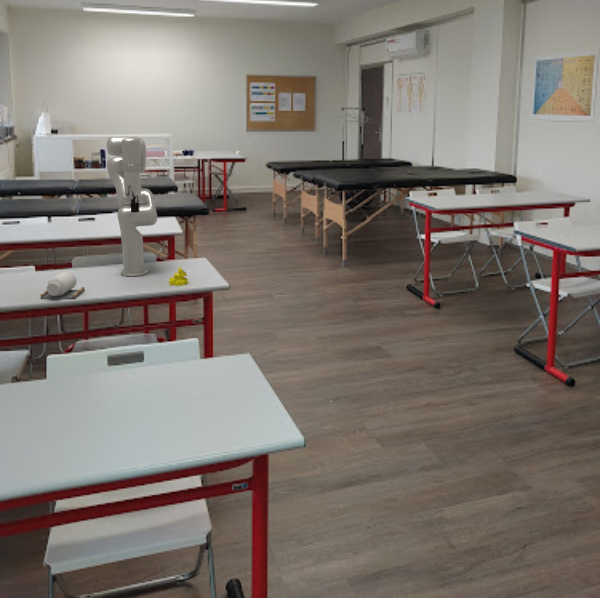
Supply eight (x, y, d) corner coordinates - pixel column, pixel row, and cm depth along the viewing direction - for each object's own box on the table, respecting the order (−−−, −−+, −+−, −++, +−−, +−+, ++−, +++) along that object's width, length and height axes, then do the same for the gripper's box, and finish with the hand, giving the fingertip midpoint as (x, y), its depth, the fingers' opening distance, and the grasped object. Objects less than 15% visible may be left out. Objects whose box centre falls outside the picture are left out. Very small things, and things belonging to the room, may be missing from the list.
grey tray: (52, 290, 290) (52, 289, 290) (84, 291, 290) (84, 289, 290) (40, 298, 279) (40, 297, 279) (74, 299, 278) (74, 297, 278)
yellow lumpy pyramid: (168, 283, 302) (167, 266, 300) (186, 281, 305) (185, 264, 303) (171, 286, 297) (170, 269, 295) (189, 284, 300) (188, 267, 298)
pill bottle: (77, 290, 291) (62, 300, 276) (58, 287, 291) (42, 297, 277) (77, 272, 289) (62, 281, 274) (59, 269, 289) (43, 278, 275)
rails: (52, 290, 290) (51, 286, 290) (84, 291, 290) (84, 287, 289) (40, 298, 279) (40, 294, 278) (74, 299, 278) (74, 294, 278)
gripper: (128, 166, 293) (131, 209, 298) (118, 170, 278) (121, 214, 284) (145, 166, 293) (148, 209, 298) (136, 170, 278) (139, 214, 283)
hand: (135, 211), depth 291 cm, fingers closed
